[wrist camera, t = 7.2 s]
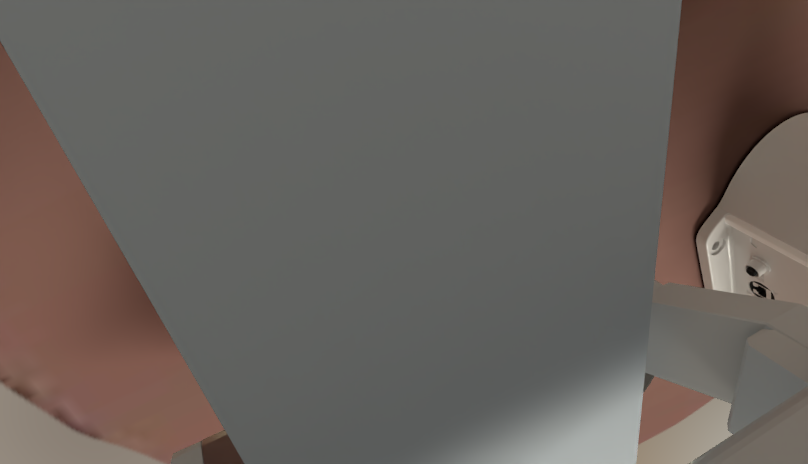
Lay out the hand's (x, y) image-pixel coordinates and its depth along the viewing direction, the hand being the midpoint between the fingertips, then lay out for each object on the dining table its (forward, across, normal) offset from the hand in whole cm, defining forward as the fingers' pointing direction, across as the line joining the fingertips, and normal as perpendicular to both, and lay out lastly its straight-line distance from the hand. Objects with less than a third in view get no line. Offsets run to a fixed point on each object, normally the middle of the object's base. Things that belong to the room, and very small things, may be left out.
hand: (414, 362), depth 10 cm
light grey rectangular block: (+2, 0, 0) cm, 2 cm away
